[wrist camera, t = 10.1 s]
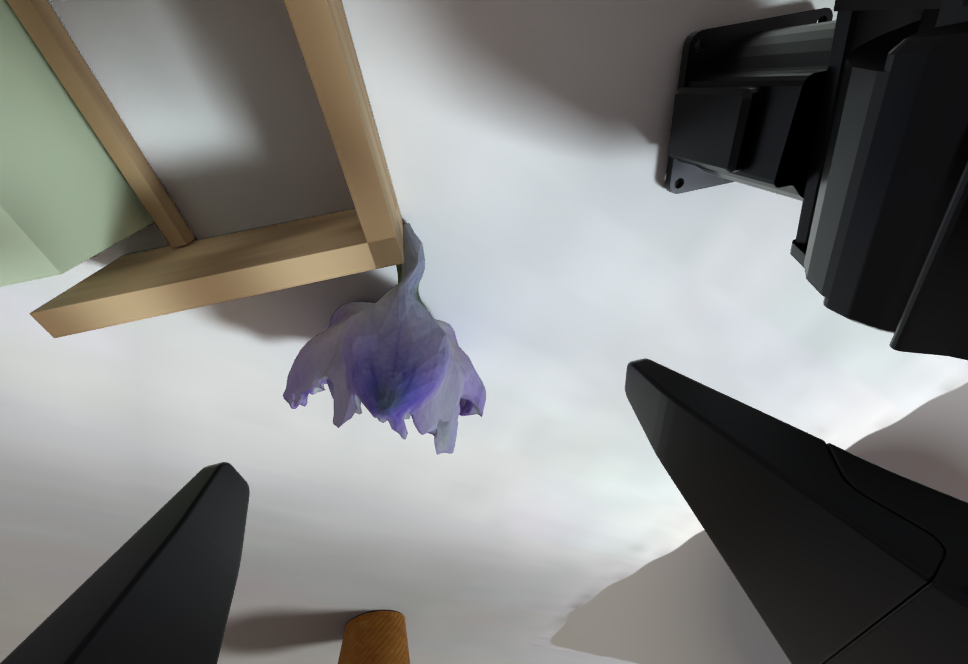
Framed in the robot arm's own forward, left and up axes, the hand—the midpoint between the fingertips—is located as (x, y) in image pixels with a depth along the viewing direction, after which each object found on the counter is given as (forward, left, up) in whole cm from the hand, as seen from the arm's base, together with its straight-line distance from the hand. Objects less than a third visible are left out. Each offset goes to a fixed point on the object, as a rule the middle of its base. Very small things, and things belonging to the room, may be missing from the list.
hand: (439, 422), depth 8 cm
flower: (+2, +3, -12) cm, 13 cm away
